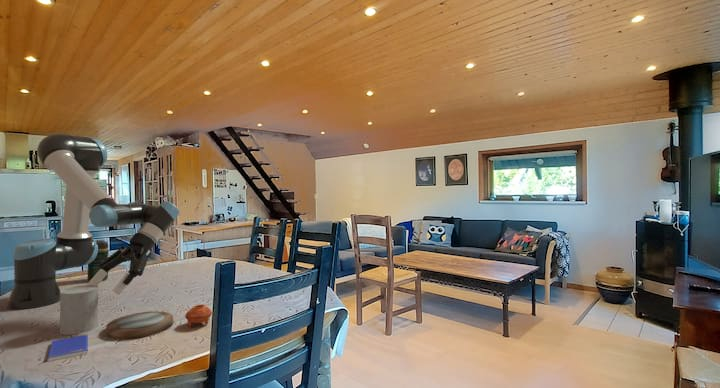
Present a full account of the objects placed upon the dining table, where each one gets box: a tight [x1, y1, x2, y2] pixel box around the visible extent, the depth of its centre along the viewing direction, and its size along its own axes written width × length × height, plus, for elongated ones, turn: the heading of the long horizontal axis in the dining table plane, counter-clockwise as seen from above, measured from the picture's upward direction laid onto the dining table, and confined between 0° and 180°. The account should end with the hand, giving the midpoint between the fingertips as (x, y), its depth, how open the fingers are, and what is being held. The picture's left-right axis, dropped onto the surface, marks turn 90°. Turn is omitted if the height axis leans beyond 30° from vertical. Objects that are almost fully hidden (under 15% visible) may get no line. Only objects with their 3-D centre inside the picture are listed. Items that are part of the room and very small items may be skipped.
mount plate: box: [105, 310, 174, 340], centre depth 114 cm, size 18×18×2 cm
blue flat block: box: [47, 334, 89, 362], centre depth 99 cm, size 2×8×12 cm
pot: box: [184, 304, 213, 328], centre depth 118 cm, size 8×8×7 cm
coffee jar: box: [87, 239, 109, 282], centre depth 172 cm, size 10×8×19 cm
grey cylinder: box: [59, 284, 99, 336], centre depth 113 cm, size 10×10×12 cm
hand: (102, 290), depth 118 cm, fingers open, 13 cm apart
